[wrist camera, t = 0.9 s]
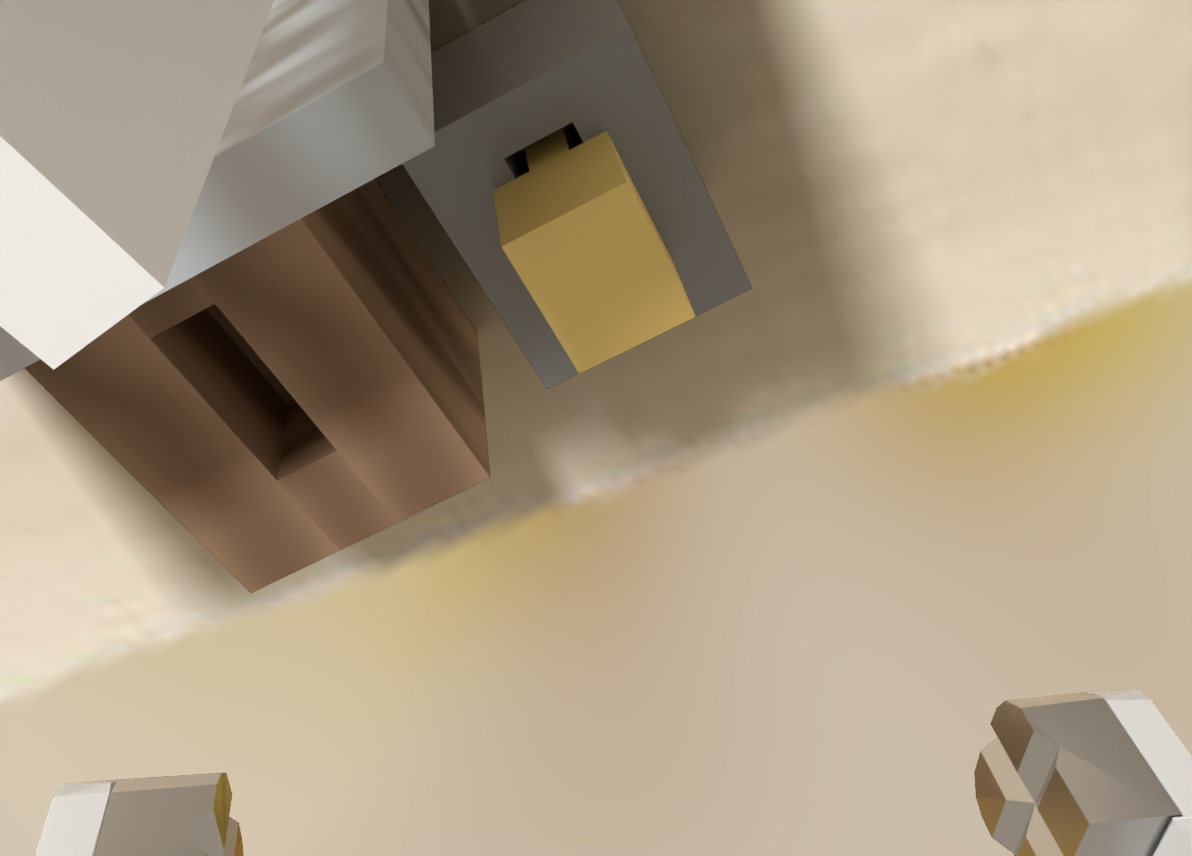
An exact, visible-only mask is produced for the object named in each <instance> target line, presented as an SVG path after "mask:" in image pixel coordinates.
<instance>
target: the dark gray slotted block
mask: <svg viewBox="0 0 1192 856" xmlns="http://www.w3.org/2000/svg"><path fill="white" fill-rule="evenodd" d="M431 66H432V89H433V112H434V136H435V146H434V147H432V148H430V149H428V150H427V151H425V152H423V153H421V154H419V155H417V156H415V157H414V158H412V159H410V160H408V161H406V162H404V163H403V166H404V168H405V169H406V171H407V172H408V174H409V175H410V177H411V178H412V180H413V182H414V183H415V185H416V186H417V188H418V189H419V191H420V192H421V194H422V196H423V197H424V199H425V200H426V202H427V203H428V205H429V206H430V208H431V209H432V211H433V213H434V214H435V216H436V217H437V219H438V220H439V222H440V223H441V225H442V227H443V228H444V230H445V231H446V233H447V234H448V236H449V237H450V239H451V241H452V242H453V244H454V245H455V247H456V248H457V250H458V251H459V253H460V254H461V256H462V258H463V259H464V261H465V262H466V264H467V265H468V267H469V268H470V270H471V272H472V273H473V275H474V276H475V278H476V279H477V281H478V282H479V284H480V286H481V287H482V289H483V290H484V292H485V293H486V295H487V296H488V298H489V300H490V301H491V303H492V304H493V306H494V307H495V309H496V310H497V312H498V313H499V315H500V317H501V318H502V320H503V321H504V323H505V324H506V326H507V327H508V329H509V331H510V332H511V334H512V335H513V337H514V338H515V340H516V341H517V343H518V345H519V346H520V348H521V349H522V351H523V352H524V354H525V355H526V357H527V359H528V360H529V362H530V363H531V365H532V366H533V368H534V369H535V371H536V372H537V374H538V376H539V377H540V379H541V380H542V382H543V383H544V385H545V386H546V388H547V389H548V388H550V387H552V386H555V385H557V384H559V383H561V382H563V381H565V380H567V379H569V378H571V377H573V376H575V375H577V374H579V372H578V371H577V369H576V368H575V366H574V364H573V363H572V361H571V359H570V358H569V356H568V355H567V353H566V351H565V350H564V348H563V346H562V345H561V343H560V341H559V340H558V338H557V337H556V335H555V333H554V332H553V330H552V328H551V327H550V325H549V324H548V322H547V320H546V319H545V317H544V315H543V314H542V312H541V311H540V309H539V307H538V306H537V304H536V302H535V301H534V299H533V298H532V296H531V294H530V293H529V291H528V289H527V288H526V286H525V285H524V283H523V281H522V280H521V278H520V276H519V275H518V273H517V272H516V270H515V268H514V267H513V265H512V263H511V262H510V260H509V258H508V257H507V255H506V254H505V252H504V250H503V249H502V247H501V241H500V234H499V227H498V220H497V213H496V206H495V200H494V193H493V190H495V189H497V188H499V187H501V186H503V185H504V184H506V183H508V182H510V181H512V180H514V179H516V178H518V177H520V176H521V175H523V174H525V173H527V172H529V166H528V162H527V157H526V153H525V147H527V146H529V145H531V144H532V143H534V142H536V141H538V140H540V139H542V138H544V137H546V136H547V135H549V134H551V133H553V132H555V131H557V130H559V129H561V128H562V127H564V126H567V128H568V130H569V132H570V134H571V136H572V138H573V140H574V141H575V143H576V145H577V146H578V145H580V144H582V143H584V142H586V141H588V140H590V139H592V138H593V137H595V136H597V135H599V134H601V133H603V132H605V131H607V132H608V134H609V136H610V138H611V140H612V142H613V144H614V146H615V148H616V150H617V152H618V154H619V156H620V158H621V160H622V162H623V164H624V166H625V168H626V170H627V172H628V174H629V176H630V178H631V180H632V182H633V184H634V186H635V188H636V190H637V191H638V193H639V195H640V197H641V199H642V201H643V203H644V205H645V207H646V209H647V211H648V213H649V215H650V217H651V219H652V221H653V223H654V225H655V227H656V229H657V231H658V233H659V235H660V237H661V239H662V241H663V243H664V245H665V247H666V249H667V251H668V253H669V254H670V256H671V259H672V261H673V263H674V266H675V268H676V271H677V273H678V275H679V278H680V280H681V283H682V285H683V287H684V290H685V292H686V295H687V297H688V299H689V302H690V304H691V307H692V309H693V311H694V314H695V316H697V315H699V314H701V313H703V312H705V311H707V310H709V309H711V308H713V307H715V306H717V305H719V304H721V303H723V302H725V301H727V300H729V299H732V298H734V297H736V296H738V295H740V294H742V293H744V292H746V291H748V290H750V289H752V287H751V284H750V282H749V280H748V278H747V276H746V274H745V271H744V269H743V267H742V265H741V263H740V261H739V259H738V256H737V254H736V252H735V250H734V248H733V246H732V243H731V241H730V239H729V237H728V235H727V233H726V230H725V228H724V226H723V224H722V222H721V220H720V218H719V215H718V213H717V211H716V209H715V207H714V205H713V202H712V200H711V198H710V196H709V194H708V192H707V190H706V187H705V185H704V183H703V181H702V179H701V177H700V174H699V172H698V170H697V168H696V166H695V164H694V162H693V159H692V157H691V155H690V153H689V151H688V149H687V146H686V144H685V142H684V140H683V138H682V136H681V133H680V131H679V129H678V127H677V125H676V123H675V121H674V118H673V116H672V114H671V112H670V110H669V108H668V105H667V103H666V101H665V99H664V97H663V95H662V93H661V90H660V88H659V86H658V84H657V82H656V80H655V77H654V75H653V73H652V71H651V69H650V67H649V65H648V62H647V60H646V58H645V56H644V54H643V52H642V49H641V47H640V45H639V43H638V41H637V39H636V37H635V34H634V32H633V30H632V28H631V26H630V24H629V22H628V20H627V19H626V17H625V15H624V13H623V11H622V10H621V8H620V6H619V4H618V3H617V1H616V0H525V1H523V2H521V3H519V4H517V5H516V6H514V7H512V8H510V9H508V10H507V11H505V12H503V13H501V14H499V15H498V16H496V17H494V18H492V19H490V20H489V21H487V22H485V23H483V24H481V25H480V26H478V27H476V28H474V29H472V30H471V31H469V32H467V33H465V34H463V35H462V36H460V37H458V38H456V39H454V40H453V41H451V42H449V43H447V44H446V45H444V46H442V47H440V48H438V49H437V50H435V51H433V52H431Z"/></svg>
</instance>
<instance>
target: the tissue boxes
mask: <svg viewBox="0 0 1192 856" xmlns="http://www.w3.org/2000/svg"><path fill="white" fill-rule="evenodd" d="M434 146H435V136H434V112H433V89H432V66H431V43H430V20H429V0H274V2H273V4H272V7H271V10H270V12H269V15H268V18H267V20H266V23H265V25H264V28H263V31H262V33H261V36H260V38H259V41H258V44H257V46H256V49H255V52H254V54H253V57H252V59H251V62H250V65H249V67H248V70H247V73H246V75H245V78H244V80H243V83H242V86H241V88H240V91H239V93H238V96H237V99H236V101H235V104H234V107H233V109H232V112H231V114H230V117H229V120H228V122H227V125H226V128H225V130H224V133H223V135H222V138H221V141H220V143H219V146H218V148H217V151H216V154H215V156H214V159H213V162H212V164H211V167H210V169H209V172H208V175H207V177H206V180H205V183H204V185H203V188H202V190H201V193H200V196H199V198H198V201H197V203H196V206H195V209H194V211H193V214H192V217H191V219H190V222H189V224H188V227H187V230H186V232H185V235H184V238H183V240H182V243H181V245H180V248H179V251H178V253H177V256H176V258H175V261H174V264H173V266H172V269H171V272H170V274H169V277H168V279H167V282H166V285H165V287H164V288H163V289H162V290H160V291H159V292H158V293H156V294H155V295H154V296H152V297H151V298H150V299H148V300H147V301H146V302H144V303H143V304H142V305H140V306H139V307H138V308H136V309H135V310H134V311H132V312H131V313H130V314H128V315H127V316H125V317H124V318H123V319H121V320H120V321H119V322H117V323H116V324H115V325H113V326H112V327H111V328H109V329H108V330H107V331H105V332H104V333H103V334H101V335H100V336H99V337H97V338H96V339H94V340H93V341H92V342H90V343H89V344H88V345H86V346H85V347H84V348H82V349H81V350H80V351H78V352H77V353H76V354H74V355H73V356H72V357H70V358H69V359H68V360H66V361H65V362H63V363H62V364H61V365H59V366H58V367H57V368H55V369H54V370H53V369H52V368H51V367H50V366H49V365H47V364H46V363H45V362H44V361H42V360H41V359H40V358H39V357H37V356H36V355H35V354H34V353H33V352H31V351H30V350H29V349H28V348H26V347H25V346H24V345H23V344H21V343H20V342H19V341H18V340H17V339H15V338H14V337H13V336H12V335H10V334H9V333H8V332H7V331H5V330H4V329H3V328H2V327H1V326H0V381H1V380H3V379H5V378H7V377H9V376H10V375H12V374H14V373H16V372H18V371H20V370H22V369H23V368H25V369H26V370H27V371H28V372H29V373H30V374H31V375H32V376H33V377H34V378H35V379H36V380H37V381H38V382H39V383H40V384H41V385H42V386H43V387H44V388H45V389H46V390H47V391H48V392H49V393H50V394H51V395H52V396H53V397H54V398H55V399H56V400H57V401H58V402H59V403H60V404H61V405H62V406H63V407H64V408H65V409H66V410H67V411H68V412H69V413H70V414H71V415H72V416H73V417H74V418H75V419H76V420H77V421H78V422H79V423H80V424H81V425H82V426H83V427H84V428H85V429H86V430H87V431H88V432H89V433H90V434H91V435H92V436H93V437H94V438H95V439H96V440H97V441H98V442H99V443H100V444H101V445H102V446H103V447H104V448H105V449H106V450H107V451H108V452H109V453H110V454H112V455H113V456H114V457H115V458H116V459H117V460H118V461H119V462H120V463H121V464H122V465H123V466H124V467H125V468H126V469H127V470H128V471H129V472H130V473H131V474H132V475H133V476H134V477H135V478H136V479H137V480H138V481H139V482H140V483H141V484H142V485H143V486H144V487H145V488H146V489H147V490H148V491H149V492H150V493H151V494H152V495H153V496H154V497H155V498H156V499H157V500H158V501H159V502H160V503H161V504H162V505H163V506H164V507H165V508H166V509H167V510H168V511H169V512H170V513H171V514H172V515H173V516H174V517H175V518H176V519H177V520H178V521H179V522H180V523H181V524H182V525H183V526H184V527H185V528H186V529H187V530H188V531H189V532H190V533H191V534H192V535H193V536H194V537H195V538H196V539H197V540H198V541H199V542H200V543H201V544H202V545H203V546H204V547H205V548H206V549H207V550H208V551H209V552H210V553H211V554H212V555H213V556H214V557H215V558H216V559H217V560H218V561H219V562H220V563H221V564H222V565H223V566H224V567H225V568H226V569H227V570H228V571H229V572H230V573H231V574H232V575H233V576H234V577H235V578H236V579H237V580H238V581H239V582H240V583H241V584H242V585H243V586H244V587H245V588H246V589H247V590H248V591H249V592H250V593H252V592H254V591H257V590H259V589H261V588H263V587H265V586H267V585H269V584H271V583H273V582H275V581H277V580H279V579H281V578H284V577H286V576H288V575H290V574H292V573H294V572H296V571H298V570H300V569H302V568H304V567H306V566H308V565H311V564H313V563H315V562H317V561H319V560H321V559H323V558H325V557H327V556H329V555H331V554H333V553H335V552H338V551H340V550H342V549H344V548H346V547H348V546H350V545H352V544H354V543H356V542H358V541H360V540H362V539H365V538H367V537H369V536H371V535H373V534H375V533H377V532H379V531H381V530H383V529H385V528H387V527H389V526H392V525H394V524H396V523H398V522H400V521H402V520H404V519H406V518H408V517H410V516H412V515H414V514H416V513H418V512H421V511H423V510H425V509H427V508H429V507H431V506H433V505H435V504H437V503H439V502H441V501H443V500H445V499H448V498H450V497H452V496H454V495H456V494H458V493H460V492H462V491H464V490H466V489H468V488H470V487H472V486H475V485H477V484H479V483H481V482H483V481H485V480H487V479H489V478H490V468H489V457H488V446H487V435H486V425H485V414H484V403H483V392H482V381H481V370H480V359H479V349H478V338H477V333H476V331H475V330H474V328H473V327H472V325H471V324H470V322H469V321H468V319H467V318H466V316H465V315H464V313H463V312H462V310H461V309H460V307H459V306H458V304H457V303H456V301H455V300H454V298H453V297H452V295H451V294H450V292H449V291H448V289H447V288H446V286H445V285H444V283H443V282H442V280H441V279H440V277H439V276H438V274H437V273H436V271H435V270H434V268H433V267H432V265H431V264H430V262H429V261H428V259H427V258H426V256H425V255H424V253H423V252H422V250H421V249H420V247H419V246H418V244H417V243H416V241H415V240H414V238H413V237H412V235H411V234H410V232H409V231H408V229H407V228H406V226H405V225H404V223H403V222H402V220H401V219H400V217H399V216H398V214H397V213H396V211H395V210H394V208H393V207H392V205H391V204H390V202H389V201H388V199H387V198H386V196H385V195H384V193H383V192H382V190H381V189H380V187H379V186H378V184H377V183H376V181H375V180H374V179H375V178H377V177H378V176H380V175H382V174H384V173H386V172H388V171H390V170H391V169H393V168H395V167H397V166H399V165H401V164H403V163H404V162H406V161H408V160H410V159H412V158H414V157H415V156H417V155H419V154H421V153H423V152H425V151H427V150H428V149H430V148H432V147H434Z"/></svg>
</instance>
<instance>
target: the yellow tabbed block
mask: <svg viewBox="0 0 1192 856" xmlns="http://www.w3.org/2000/svg"><path fill="white" fill-rule="evenodd" d="M525 153H526V157H527V162H528V166H529V172H527V173H525V174H523V175H521V176H520V177H518V178H516V179H514V180H512V181H510V182H508V183H506V184H504V185H503V186H501V187H499V188H497V189H495V190H493V193H494V200H495V206H496V213H497V220H498V227H499V234H500V241H501V247H502V249H503V250H504V252H505V254H506V255H507V257H508V258H509V260H510V262H511V263H512V265H513V267H514V268H515V270H516V272H517V273H518V275H519V276H520V278H521V280H522V281H523V283H524V285H525V286H526V288H527V289H528V291H529V293H530V294H531V296H532V298H533V299H534V301H535V302H536V304H537V306H538V307H539V309H540V311H541V312H542V314H543V315H544V317H545V319H546V320H547V322H548V324H549V325H550V327H551V328H552V330H553V332H554V333H555V335H556V337H557V338H558V340H559V341H560V343H561V345H562V346H563V348H564V350H565V351H566V353H567V355H568V356H569V358H570V359H571V361H572V363H573V364H574V366H575V368H576V369H577V371H578V372H579V374H580V373H582V372H584V371H586V370H588V369H590V368H592V367H594V366H596V365H599V364H601V363H603V362H605V361H607V360H609V359H611V358H613V357H615V356H617V355H619V354H621V353H623V352H625V351H627V350H629V349H631V348H633V347H635V346H637V345H639V344H641V343H643V342H645V341H647V340H649V339H651V338H653V337H655V336H658V335H660V334H662V333H664V332H666V331H668V330H670V329H672V328H674V327H676V326H678V325H680V324H682V323H684V322H686V321H688V320H690V319H692V318H694V317H696V316H695V314H694V311H693V309H692V307H691V304H690V302H689V299H688V297H687V295H686V292H685V290H684V287H683V285H682V283H681V280H680V278H679V275H678V273H677V271H676V268H675V266H674V263H673V261H672V259H671V256H670V254H669V253H668V251H667V249H666V247H665V245H664V243H663V241H662V239H661V237H660V235H659V233H658V231H657V229H656V227H655V225H654V223H653V221H652V219H651V217H650V215H649V213H648V211H647V209H646V207H645V205H644V203H643V201H642V199H641V197H640V195H639V193H638V191H637V190H636V188H635V186H634V184H633V182H632V180H631V178H630V176H629V174H628V172H627V170H626V168H625V166H624V164H623V162H622V160H621V158H620V156H619V154H618V152H617V150H616V148H615V146H614V144H613V142H612V140H611V138H610V136H609V134H608V132H607V131H605V132H603V133H601V134H599V135H597V136H595V137H593V138H592V139H590V140H588V141H586V142H584V143H582V144H580V145H578V146H577V145H576V143H575V141H574V140H573V138H572V136H571V134H570V132H569V130H568V128H567V126H564V127H562V128H561V129H559V130H557V131H555V132H553V133H551V134H549V135H547V136H546V137H544V138H542V139H540V140H538V141H536V142H534V143H532V144H531V145H529V146H527V147H525Z"/></svg>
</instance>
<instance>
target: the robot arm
mask: <svg viewBox="0 0 1192 856" xmlns="http://www.w3.org/2000/svg"><path fill="white" fill-rule="evenodd" d="M991 725H992V727H993V729H994V731H995V733H996V735H997V738H996V739H995V740H994V741H992V742H991V743H990V744H989V745H988V746H986V747H985V748H984V749H983V750H982V751H981V752H980V756H979V759H978V762H977V766H976V769H975V789H976V798H977V802H978V805H979V809H980V811H981V815H982V818H983V819H984V822H985V824H986V826H987V828H988V830H989V832H990V834H991V836H992V838H993V839H995V840H996V841H998V842H999V843H1000V844H1002V845H1003V846H1004V847H1006V848H1007V849H1008V850H1010V851H1011V852H1012V853H1014V854H1015V855H1014V856H1192V756H1191V755H1190V754H1189V752H1188V751H1187V749H1186V748H1185V747H1184V745H1183V744H1182V742H1180V740H1179V738H1178V737H1177V736H1176V734H1175V733H1174V732H1173V730H1172V729H1171V727H1170V726H1169V725H1168V723H1167V722H1166V721H1165V719H1164V718H1163V717H1162V715H1161V714H1160V712H1159V711H1158V710H1157V709H1156V707H1155V706H1154V704H1153V703H1152V702H1151V700H1150V699H1149V698H1148V697H1147V696H1146V695H1144V694H1143V693H1142V692H1140V691H1139V690H1137V689H1126V690H1115V691H1104V692H1094V693H1086V692H1082V693H1073V694H1063V695H1054V696H1044V697H1035V698H1025V699H1017V700H1007V701H1005V702H1003V703H1002V704H1001V705H1000V706H998V707H997V708H996V711H995V714H994V716H993V719H992V722H991ZM231 799H232V792H231V788H230V784H229V781H228V777H227V774H226V773H212V774H196V775H180V776H164V777H148V778H134V779H118V780H106V781H94V782H81V783H68V784H63V785H62V786H61V788H60V789H59V791H58V792H57V794H56V795H55V797H54V798H53V800H52V802H51V806H50V809H49V812H48V815H47V819H46V823H45V825H44V828H43V832H42V835H41V838H40V841H39V845H38V848H37V851H36V855H35V856H243V844H242V837H241V832H240V827H239V823H238V822H237V821H235V820H234V819H232V818H231V817H229V813H230V806H231Z"/></svg>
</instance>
